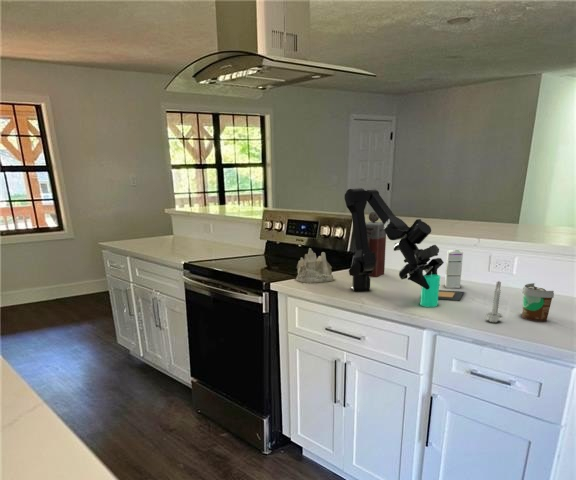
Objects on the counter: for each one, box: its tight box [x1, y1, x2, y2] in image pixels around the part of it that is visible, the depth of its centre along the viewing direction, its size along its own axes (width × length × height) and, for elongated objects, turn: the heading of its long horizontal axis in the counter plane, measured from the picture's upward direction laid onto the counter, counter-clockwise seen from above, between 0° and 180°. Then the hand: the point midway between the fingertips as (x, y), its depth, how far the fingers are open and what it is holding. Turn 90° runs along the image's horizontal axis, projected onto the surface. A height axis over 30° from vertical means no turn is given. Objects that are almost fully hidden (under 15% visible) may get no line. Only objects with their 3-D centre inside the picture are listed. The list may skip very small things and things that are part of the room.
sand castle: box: [296, 247, 335, 284], centre depth 228 cm, size 16×16×15 cm
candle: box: [420, 272, 441, 308], centre depth 180 cm, size 6×6×12 cm
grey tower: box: [444, 249, 464, 289], centre depth 206 cm, size 6×6×14 cm
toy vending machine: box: [365, 211, 387, 278], centre depth 230 cm, size 9×11×28 cm
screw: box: [485, 280, 503, 323], centre depth 159 cm, size 13×5×5 cm
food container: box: [521, 282, 555, 322], centre depth 162 cm, size 12×6×10 cm, turn 5°
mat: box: [438, 289, 465, 302], centre depth 195 cm, size 14×14×1 cm
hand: (433, 287), depth 179 cm, fingers closed on candle, 5 cm apart
